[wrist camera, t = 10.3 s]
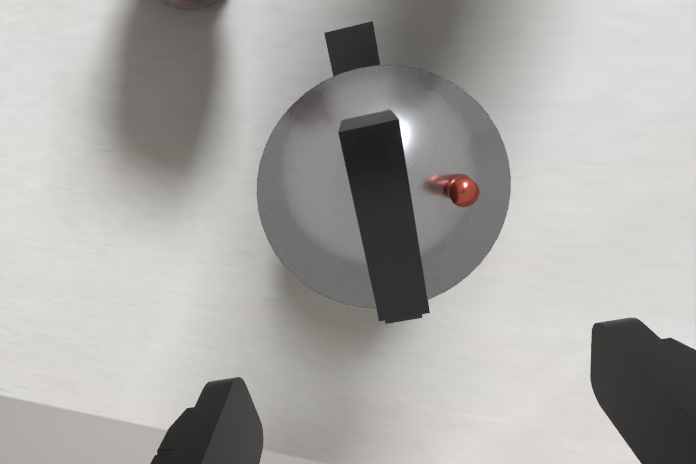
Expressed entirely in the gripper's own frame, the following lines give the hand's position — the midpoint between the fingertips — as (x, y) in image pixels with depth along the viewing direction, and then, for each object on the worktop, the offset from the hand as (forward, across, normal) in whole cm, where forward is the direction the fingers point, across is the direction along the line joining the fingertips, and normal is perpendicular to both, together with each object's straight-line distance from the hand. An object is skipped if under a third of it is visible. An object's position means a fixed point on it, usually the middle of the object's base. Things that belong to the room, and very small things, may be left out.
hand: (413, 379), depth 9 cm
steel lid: (+15, 0, 0) cm, 15 cm away
